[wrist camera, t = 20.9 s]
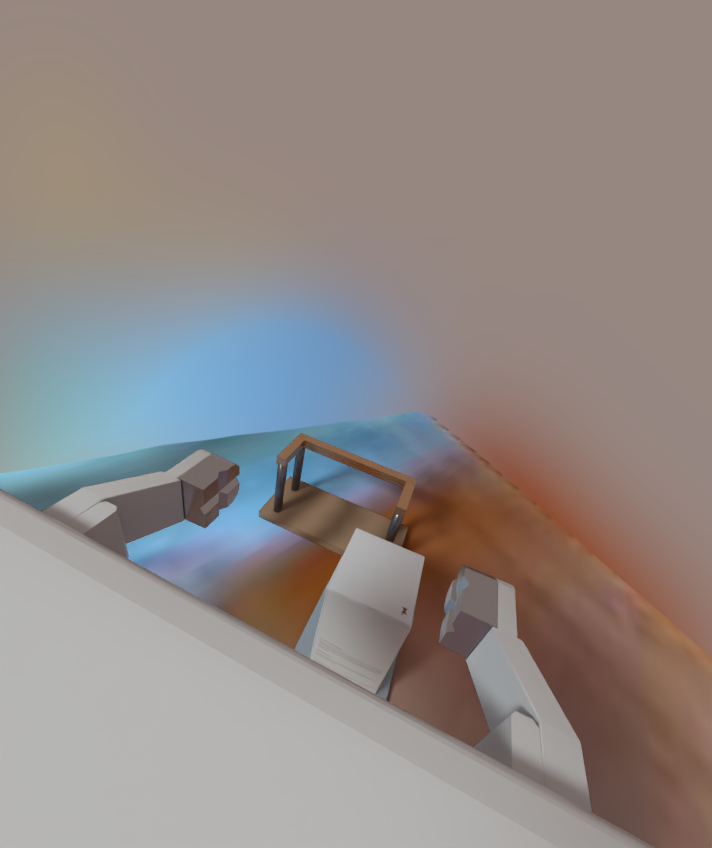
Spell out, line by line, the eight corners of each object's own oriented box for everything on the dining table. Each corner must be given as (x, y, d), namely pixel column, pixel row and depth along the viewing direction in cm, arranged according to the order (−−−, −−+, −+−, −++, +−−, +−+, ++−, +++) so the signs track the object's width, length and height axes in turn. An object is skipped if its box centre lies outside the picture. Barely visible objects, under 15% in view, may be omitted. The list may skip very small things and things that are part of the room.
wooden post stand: (271, 510, 48) (277, 455, 43) (293, 484, 53) (300, 433, 48) (385, 562, 45) (406, 510, 40) (396, 530, 50) (417, 479, 45)
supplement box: (393, 625, 39) (428, 556, 32) (374, 698, 32) (413, 630, 26) (334, 597, 40) (356, 524, 33) (305, 661, 34) (325, 588, 27)
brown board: (258, 516, 48) (259, 510, 48) (289, 481, 55) (290, 476, 55) (391, 578, 44) (393, 573, 44) (405, 532, 51) (408, 527, 51)
